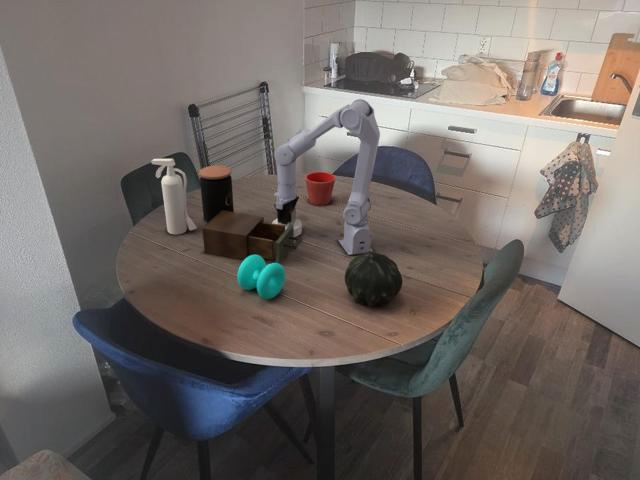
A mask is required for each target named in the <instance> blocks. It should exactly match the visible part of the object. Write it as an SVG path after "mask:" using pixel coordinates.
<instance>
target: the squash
mask: <svg viewBox="0 0 640 480" xmlns="http://www.w3.org/2000/svg"><path fill="white" fill-rule="evenodd" d="M344 284H345V286H346V288H347V292H348V293H349V294H350V295H351V296H353V299H354V301H355V302H356V303H357V304H359V305H362V304H366V305H367V306H368V307H375V306H376V305H378V304H379V305H388V304H389V303H390V302H391V301H393V299H394V298H395V297H397V295H398V294H399V293H400V292H401V290H402V287H403V277H402V274H401V271H400V270H399V267H398V264H397V263H396V262H395V261H394V260H392V258H389V256H387V255H386V254H383V253H379V252H376V251H373V252H372V251H369V252H366V253H361V254H357V255H356V256H354V257H353V258H352V259H351V260H350V261H349V262H348V265H347V268H346V269H345V273H344Z"/></svg>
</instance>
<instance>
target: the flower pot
mask: <svg viewBox="0 0 640 480" xmlns="http://www.w3.org/2000/svg"><path fill="white" fill-rule="evenodd" d="M335 182H336V176H335V175H334V174H332V173H330V172H327V171H313V172H310V173H308V174H306V175H305V184H306V189H307V195H308V201H309V203H310V204H312V205H315V206H325V205H328V204H329V203H330V202H331V199H332V195H333V192H334V191H333V190H334V188H335V187H334V186H335Z"/></svg>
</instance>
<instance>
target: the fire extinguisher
mask: <svg viewBox="0 0 640 480" xmlns="http://www.w3.org/2000/svg"><path fill="white" fill-rule="evenodd" d="M150 163H151V165H157V166H159V167H158V168H157V170H156V171H155V177H156V178H157V179H159V178H161V176H162V172H163V171H164V168H166V174H165V175H163V176H162V178H161V181H160V183H161V184H160V185H161V191H162V198H163V204H164V214H165V221H166V230H167V232H168V233H169V234H170V235H175V236H176V235H182V234H184V233H186V232H187V230H189V231H194V230H196V229H197V226H196V224H195V223H194V220H192V218H191V217H189V214H188V213H189V212H188V208H187V207H188V206H187V205H188V203H187V185H188V179H187V175H186V173H185V172H184V171H183V170H181V169H180V168H176V167H174V166H176V161H175V159H174V158H153V159H152V160H151V161H150ZM176 172H178V173H180V174H181V175H182V177H183V179H182V177H181V176H180V175H179V174H176Z"/></svg>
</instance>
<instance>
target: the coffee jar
mask: <svg viewBox="0 0 640 480" xmlns="http://www.w3.org/2000/svg"><path fill="white" fill-rule="evenodd" d="M231 174H232V169H231V168H230V167H229V166H226V165H209V166H206V167H202V168H201V169H200V170H199V171H198V175H199V185H200V186H199V187H200V196H201V206H202V212H203V213H202V214H203V216H202V217H203V220H204V222H206V224H207V223H209V222H210V221H211V220H212V219H213V218H214V217H215V216H216V215H218V214H219V213H220V212H221V211H222V210H224V211H230V212H235V211H234V210H235V209H234V193H233V178H232V175H231Z"/></svg>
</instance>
